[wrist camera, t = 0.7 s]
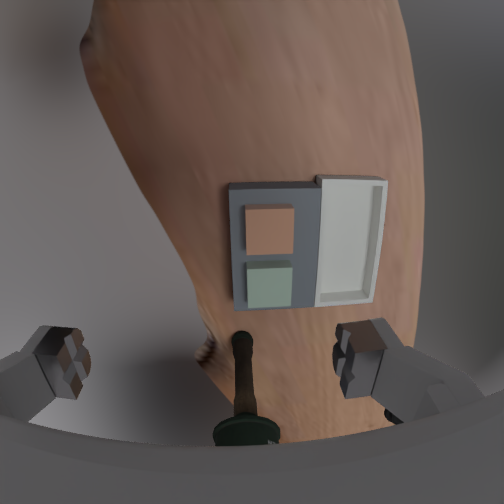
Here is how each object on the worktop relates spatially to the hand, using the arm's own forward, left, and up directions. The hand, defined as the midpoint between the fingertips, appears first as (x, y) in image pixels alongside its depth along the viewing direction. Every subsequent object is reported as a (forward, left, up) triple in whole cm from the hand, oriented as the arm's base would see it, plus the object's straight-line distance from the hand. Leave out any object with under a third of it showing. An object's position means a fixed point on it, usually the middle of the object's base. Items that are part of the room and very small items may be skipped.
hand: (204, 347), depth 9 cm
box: (+11, +18, -38) cm, 43 cm away
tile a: (+7, +5, -33) cm, 34 cm away
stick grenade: (+29, +1, -38) cm, 48 cm away
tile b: (+15, +5, -33) cm, 37 cm away
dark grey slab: (+11, +6, -38) cm, 40 cm away
